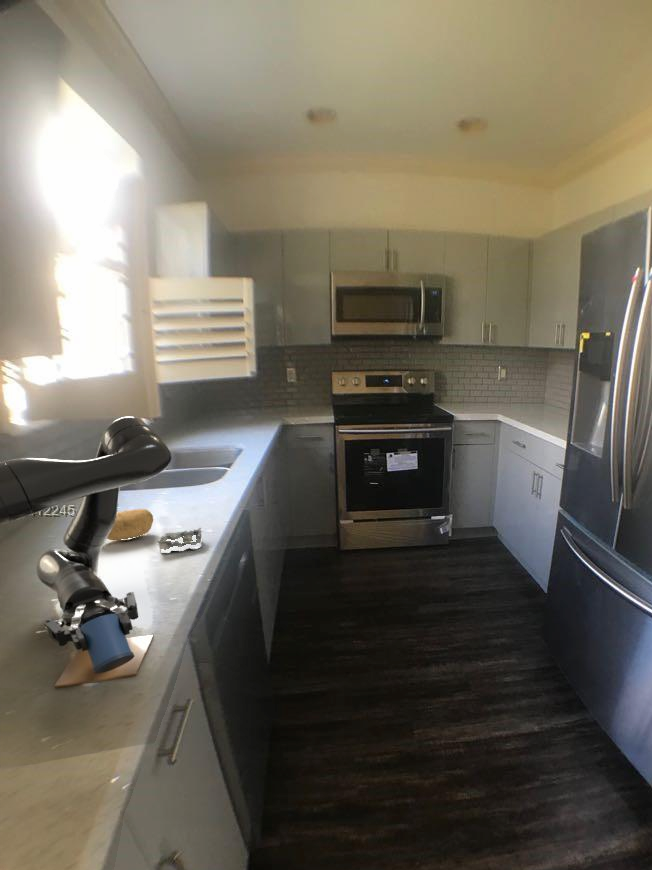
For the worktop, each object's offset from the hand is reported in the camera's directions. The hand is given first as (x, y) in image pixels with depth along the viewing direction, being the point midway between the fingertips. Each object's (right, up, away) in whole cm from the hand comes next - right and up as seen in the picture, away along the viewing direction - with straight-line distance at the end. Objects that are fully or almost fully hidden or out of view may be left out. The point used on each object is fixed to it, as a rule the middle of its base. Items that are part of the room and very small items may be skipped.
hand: (105, 637), depth 72 cm
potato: (-28, +12, +57) cm, 64 cm away
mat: (-3, -6, +6) cm, 9 cm away
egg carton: (-10, +10, +50) cm, 52 cm away
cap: (+1, -4, 0) cm, 5 cm away
